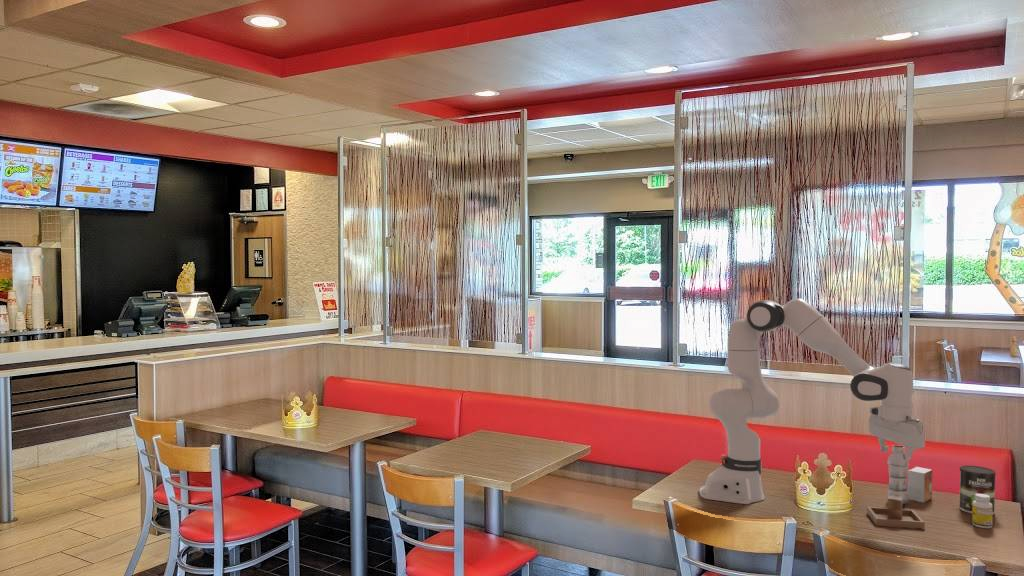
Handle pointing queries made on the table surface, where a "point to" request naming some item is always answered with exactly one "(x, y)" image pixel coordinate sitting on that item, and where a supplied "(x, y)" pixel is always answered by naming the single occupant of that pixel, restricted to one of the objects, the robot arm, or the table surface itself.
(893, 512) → the block
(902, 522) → the tray
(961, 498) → the coffee can
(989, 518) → the supplement bottle
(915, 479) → the small box
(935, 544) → the table surface
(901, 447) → the plastic bottle
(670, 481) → the table surface
